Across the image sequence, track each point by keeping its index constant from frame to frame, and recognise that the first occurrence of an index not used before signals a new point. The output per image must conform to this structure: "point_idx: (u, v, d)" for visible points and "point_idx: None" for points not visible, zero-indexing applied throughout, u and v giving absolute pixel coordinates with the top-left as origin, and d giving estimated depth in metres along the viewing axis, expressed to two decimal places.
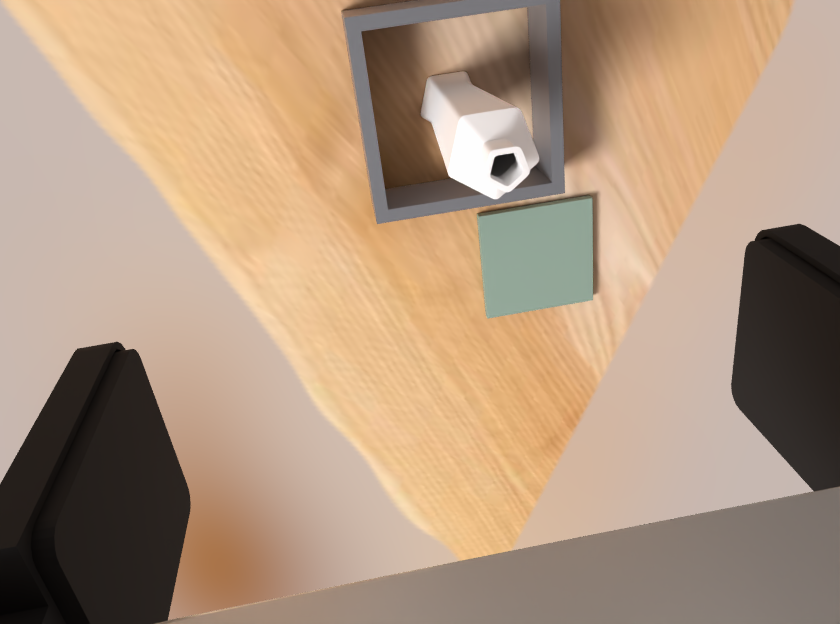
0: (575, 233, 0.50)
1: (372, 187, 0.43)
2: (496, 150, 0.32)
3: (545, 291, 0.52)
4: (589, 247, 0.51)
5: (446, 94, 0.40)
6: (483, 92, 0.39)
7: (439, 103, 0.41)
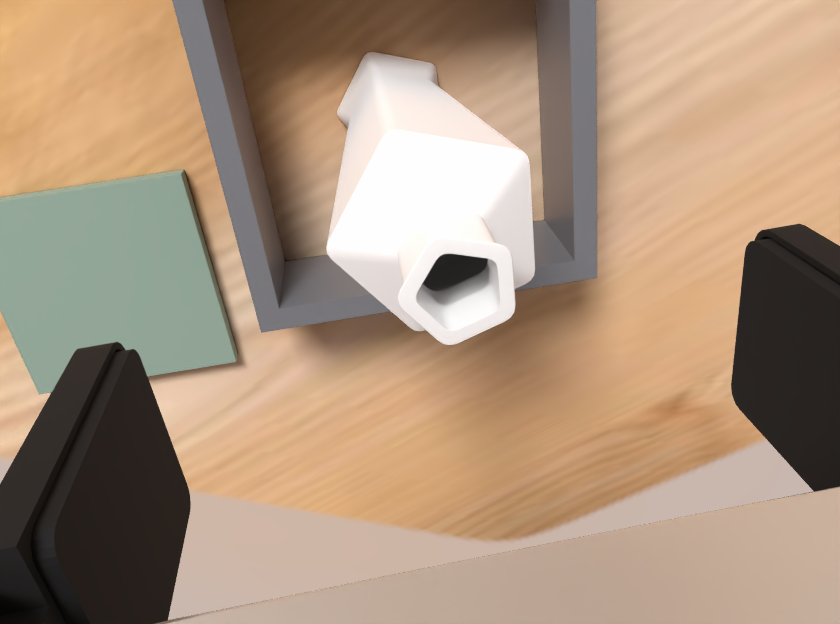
0: (168, 346, 0.29)
1: None
2: (510, 263, 0.13)
3: (41, 313, 0.27)
4: None
5: None
6: None
7: (434, 91, 0.21)
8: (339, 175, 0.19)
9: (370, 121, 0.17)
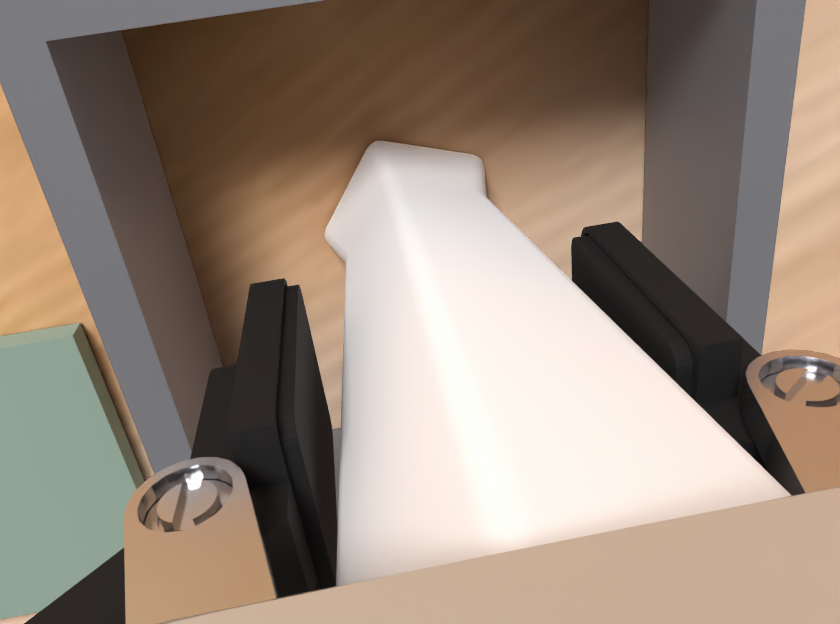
0: (71, 571, 0.19)
1: None
2: None
3: None
4: (35, 607, 0.19)
5: None
6: None
7: (508, 239, 0.11)
8: (341, 444, 0.09)
9: (414, 379, 0.08)
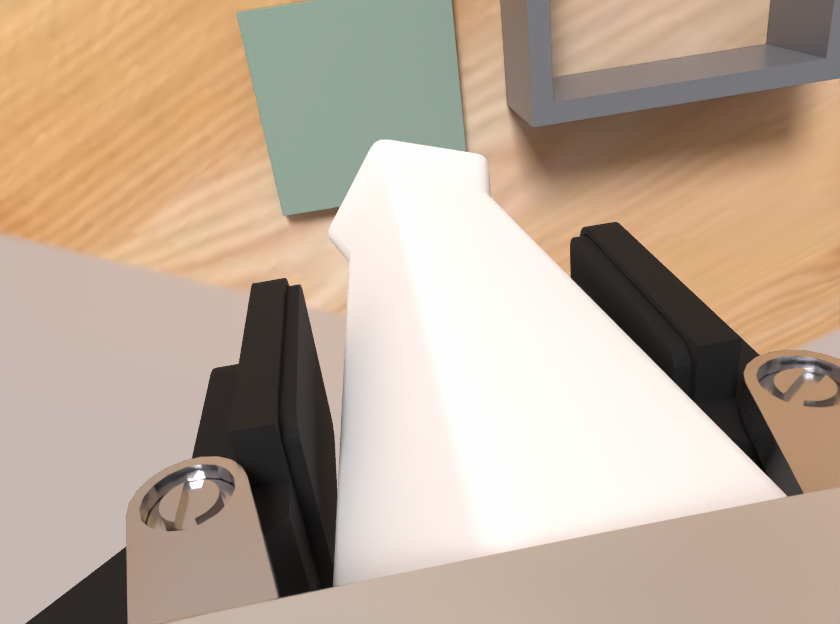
0: None
1: None
2: None
3: (298, 127, 0.29)
4: None
5: None
6: None
7: (510, 239, 0.11)
8: (340, 442, 0.09)
9: (413, 378, 0.08)
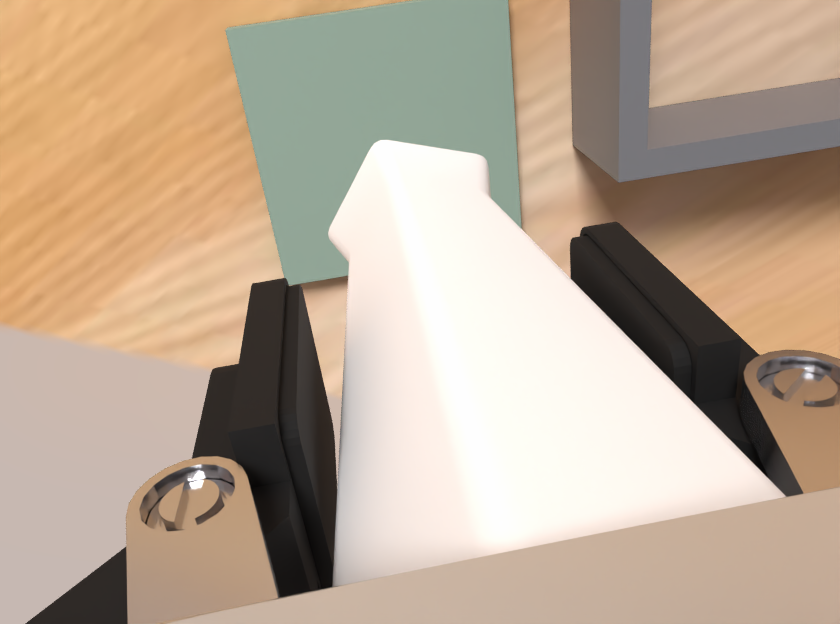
0: None
1: None
2: None
3: (307, 176, 0.22)
4: None
5: None
6: None
7: (510, 239, 0.11)
8: (340, 443, 0.09)
9: (413, 379, 0.08)
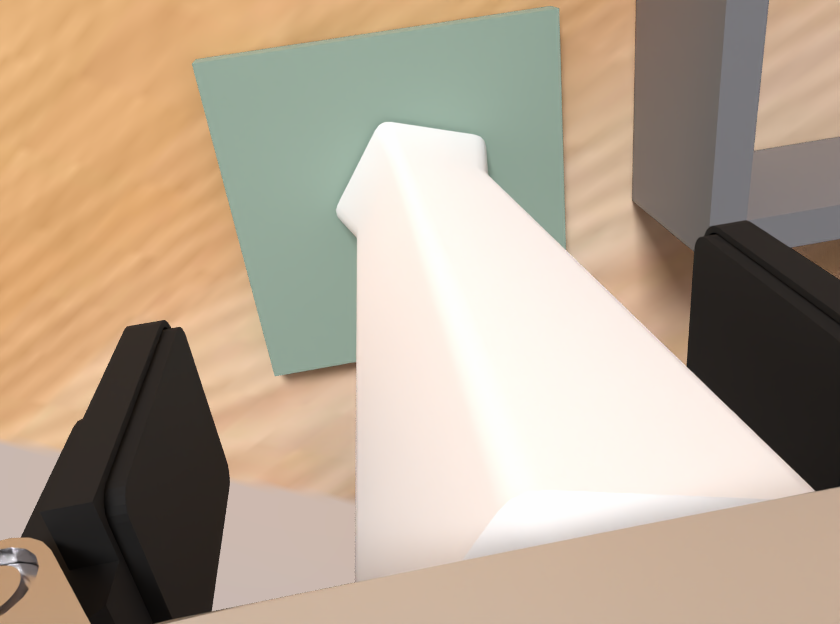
0: None
1: None
2: None
3: (300, 245, 0.17)
4: None
5: None
6: None
7: (507, 212, 0.13)
8: (356, 393, 0.11)
9: (423, 330, 0.09)
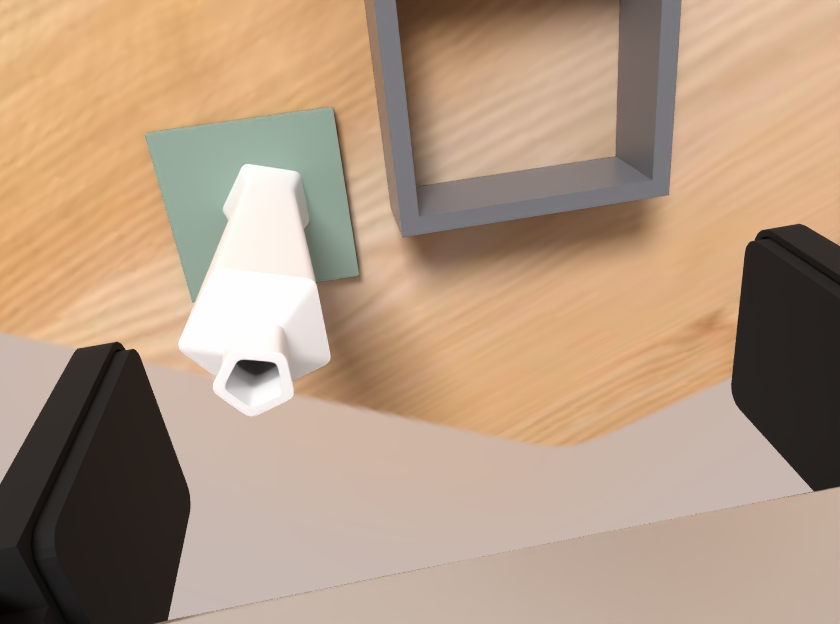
0: None
1: None
2: (286, 364, 0.19)
3: (203, 228, 0.33)
4: None
5: (301, 218, 0.28)
6: None
7: (284, 206, 0.28)
8: None
9: (221, 244, 0.24)
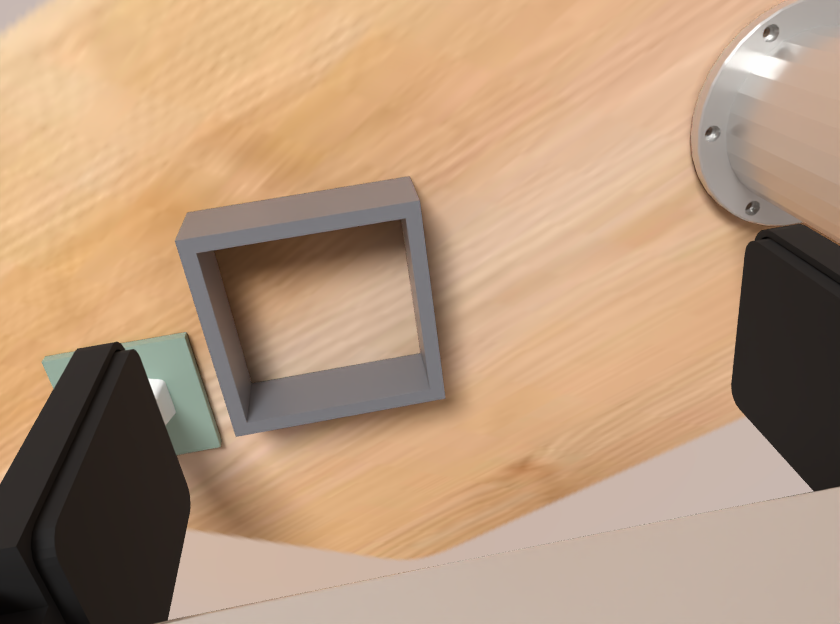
0: (175, 438, 0.44)
1: (224, 234, 0.35)
2: None
3: None
4: None
5: None
6: None
7: None
8: None
9: None
